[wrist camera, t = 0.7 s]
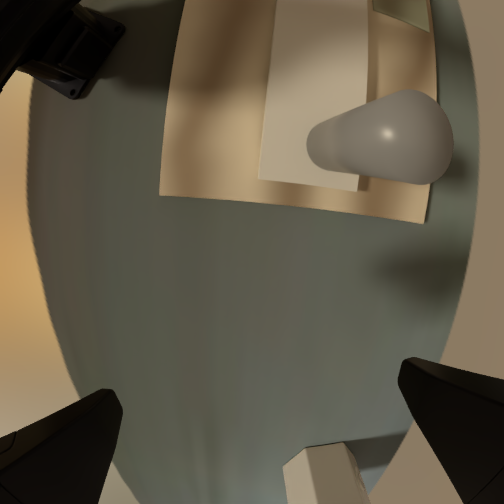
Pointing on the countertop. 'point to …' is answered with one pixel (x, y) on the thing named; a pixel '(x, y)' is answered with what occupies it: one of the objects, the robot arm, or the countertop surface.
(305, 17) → the knobbed beige slab
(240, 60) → the board
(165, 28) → the countertop surface
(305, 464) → the jar
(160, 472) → the countertop surface
